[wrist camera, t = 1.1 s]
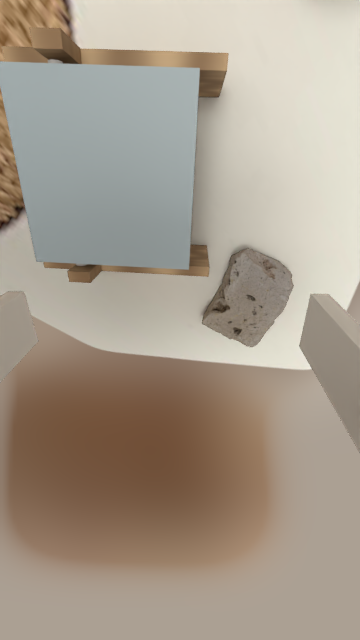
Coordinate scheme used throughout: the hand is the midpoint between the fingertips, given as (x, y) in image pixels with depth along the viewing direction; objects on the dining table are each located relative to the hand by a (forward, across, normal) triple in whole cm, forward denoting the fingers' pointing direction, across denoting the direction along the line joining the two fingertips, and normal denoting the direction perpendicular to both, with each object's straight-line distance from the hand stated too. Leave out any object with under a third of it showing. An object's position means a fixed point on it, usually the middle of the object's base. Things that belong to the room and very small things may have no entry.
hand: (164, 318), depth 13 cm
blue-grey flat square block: (+19, -6, +6) cm, 21 cm away
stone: (+26, +8, -9) cm, 28 cm away
